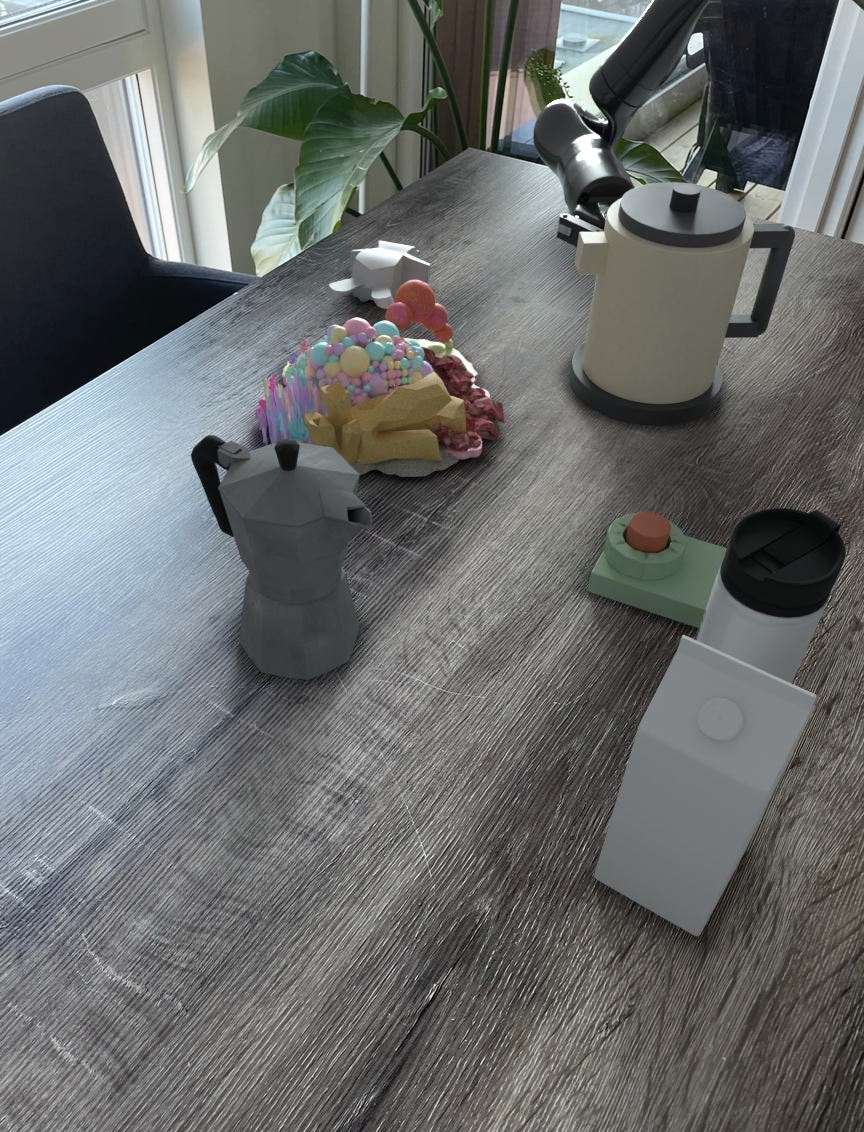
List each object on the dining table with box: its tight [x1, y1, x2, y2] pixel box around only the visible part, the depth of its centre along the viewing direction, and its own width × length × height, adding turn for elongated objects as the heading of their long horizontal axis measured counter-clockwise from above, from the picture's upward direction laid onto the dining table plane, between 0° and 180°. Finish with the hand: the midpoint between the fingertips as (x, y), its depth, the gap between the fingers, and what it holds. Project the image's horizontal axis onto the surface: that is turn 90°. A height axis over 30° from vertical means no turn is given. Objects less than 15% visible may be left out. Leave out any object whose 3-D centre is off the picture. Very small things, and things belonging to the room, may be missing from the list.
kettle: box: [569, 181, 796, 427], centre depth 98 cm, size 16×20×20 cm
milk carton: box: [593, 634, 818, 937], centre depth 59 cm, size 7×7×19 cm
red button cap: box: [626, 511, 671, 553], centre depth 82 cm, size 3×3×2 cm
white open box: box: [324, 240, 431, 310], centre depth 115 cm, size 10×5×15 cm
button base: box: [587, 513, 727, 629], centre depth 82 cm, size 14×8×4 cm, turn 63°
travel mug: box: [695, 507, 847, 684], centre depth 65 cm, size 6×7×20 cm
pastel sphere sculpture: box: [255, 280, 505, 478], centre depth 98 cm, size 25×24×9 cm
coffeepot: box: [190, 434, 373, 681], centre depth 73 cm, size 15×9×18 cm, turn 54°
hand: (630, 263), depth 108 cm, fingers closed
